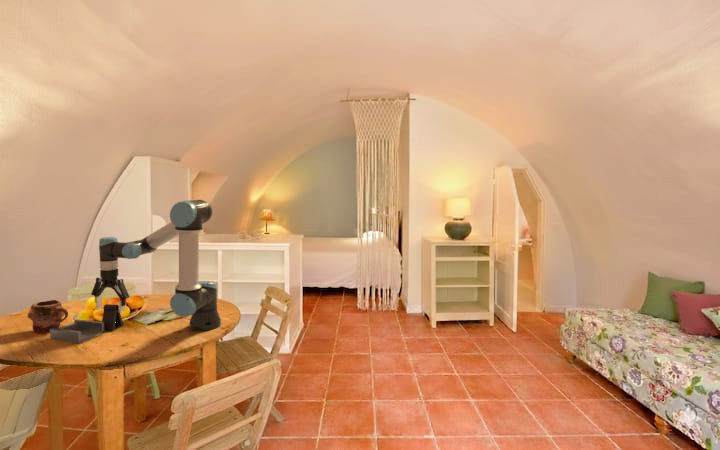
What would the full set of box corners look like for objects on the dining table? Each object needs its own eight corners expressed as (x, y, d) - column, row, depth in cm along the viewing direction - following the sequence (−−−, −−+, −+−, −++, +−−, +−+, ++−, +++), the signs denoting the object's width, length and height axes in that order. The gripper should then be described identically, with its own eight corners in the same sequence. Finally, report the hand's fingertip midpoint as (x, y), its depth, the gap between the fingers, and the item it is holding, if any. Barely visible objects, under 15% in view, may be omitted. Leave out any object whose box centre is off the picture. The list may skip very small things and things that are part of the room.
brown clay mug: (79, 326, 203) (77, 299, 202) (61, 335, 191) (59, 307, 190) (40, 325, 203) (38, 298, 202) (19, 334, 191) (17, 306, 190)
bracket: (104, 332, 196) (104, 322, 195) (78, 343, 182) (77, 332, 182) (77, 329, 200) (77, 319, 199) (50, 339, 186) (49, 329, 185)
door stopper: (112, 331, 197) (111, 307, 196) (100, 331, 197) (99, 307, 196) (123, 325, 206) (122, 302, 205) (112, 324, 206) (111, 301, 205)
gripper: (136, 269, 199) (137, 310, 201) (94, 265, 205) (96, 305, 207) (124, 272, 192) (125, 315, 194) (81, 268, 197) (83, 310, 200)
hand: (110, 310), depth 201 cm, fingers open, 13 cm apart
